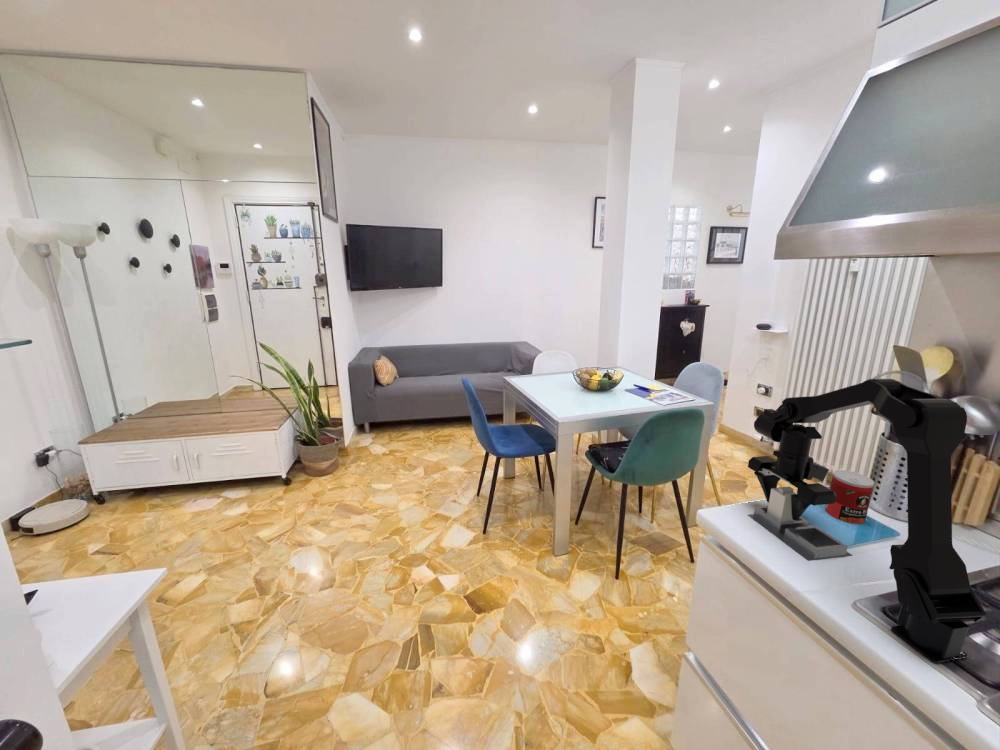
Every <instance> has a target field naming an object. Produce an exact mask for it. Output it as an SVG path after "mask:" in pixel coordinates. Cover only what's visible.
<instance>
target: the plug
mask: <svg viewBox="0 0 1000 750" xmlns="http://www.w3.org/2000/svg"><path fill="white" fill-rule="evenodd" d="M794 491H795V490H794V488H792V486H780V487H777V488H772V489H771V493H770V499H769V503H767V504H768V505H767V506H768V509H767V513H768V514H769V515H771V516H772V517H774V518H775V519H777V520H778V521H779V522H790V521H796V520H793V519H792V512H791V495H793V494H797V492H794Z"/></svg>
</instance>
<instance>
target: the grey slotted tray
mask: <svg viewBox="0 0 1000 750" xmlns="http://www.w3.org/2000/svg"><path fill="white" fill-rule="evenodd" d="M767 509H768V505H761V506H754V511H753V514H750V513H749V514H747V517H749V518H751V520H753V521H754V522H755V523H757V524H759V525H760V526H761V527H763V528H764V529H765V530H766V531H767V532H769V533H770V534H772V535H773V536H774V537H776V538H777V539H778V540H780V541H781V542H782V543H784V544H785V545H786V546H788V547H789V548H790V549H791V550H793V551H794V552H796V554H798V555H800V556H801V557H802V558H804V559H805V560H807V562H812V561H818V560H828V559H829V560H830V559H836V558H844V557H845V558H847V557H853V554H852V553H850V552H848V551H847V550H848V546H847V545H846V544H844V543H842V542H841V541H839V540H838V539H837V538H835V537H834V536H831V535H830V534H828V533H827V532H826V531H824V530H823V529H821V528H820V527H818V526H816V525H809V524H810V521H809V520H807V519H806V518H804V517H802V515H801V516H800V517H799V519H798V520H796V521H790V522H779V521H778V520H777V519H775V518H774V517H772V516H771V515H769V514H768V513H767Z"/></svg>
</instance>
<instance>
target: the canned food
mask: <svg viewBox="0 0 1000 750" xmlns="http://www.w3.org/2000/svg"><path fill="white" fill-rule="evenodd" d="M874 487H875V482H874V480H873V479H871V478H870V477H868V476H866V475H863V474H861V473H858V472H854V471H850V470H845V469H844V470H841V469H840V470H839V469H838V470H835V471H833V473H832V478H831V482H830V485H829V489H831V490H833V491H834V492H835V494H836V499H835V504H825V511H826V513H827V514H828V515H829V516H831V517H833V518H835V519H837V520H840V521H842V522H844V523H849V524H854V525H861V524H864V523H865V522H866V519H867V515H868V511H869V506H870V504H871V500H872V495H873V492H874V491H873V490H874Z"/></svg>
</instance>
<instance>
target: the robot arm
mask: <svg viewBox="0 0 1000 750" xmlns="http://www.w3.org/2000/svg"><path fill="white" fill-rule="evenodd" d="M869 405H873V407H874V408H875V409H876V411H877V413H878V414H880V415H881V416H883V417H884V418H886V419H888V420H889V421H891V422H892V428H893V433H894V436H895V438H896V439H897V441H898V442H899V444H900V445H901V446H902V447H903V448H904V450H905V451H906V478H907V479H906V483H907V486H906V488H907V494H906V495H907V539H906V540H905V542H904V543H903V544H891V546H890V550H889V551H890V555H891V562H890V565H889V568H888V569H889V570H893V578H894V580H895V584H896V592H897V594H896V595H897V601H898V603H900V604H901V606H900V610H899V614H898V616H897V617H898V618H897V620H896V623H897V624H898V625H892V626H891V627H890V631H892V632H893V633H894V634H896V635H897V636H898V637H899V638H900V639H901V640H903V641H905V642H906V643H907V644H909V645H910V646H911V647H912V648H914V649H915V650H916V651H917V652H918V653H920V654H921V655H923V656H924V657H926V658H927V659H928V660H930V662H933V663H935V664H940V663H941V664H942V663H946V662H945V661H947V662H949V661H948V660H951V658H952V659H954V658H953V657H955V658H963V657H967V658H968V654H967V653H966V652H964V651H963V653H964V654H965V655H963V654H960V652H961V650H962V649H963V646H964V644H965V640H966V638H967V634H968V631H969V629H970V625H969V624H967V622H968V623H969V622H974V623H977V622H980V621H982V620H983V619H984V618H985V617H986V616H987V613H986V611H985V610H984V608H983V606H982V604H981V603H980V601H979V599H978V598H977V596H976V594H975V592H974V591H973V588H972V587H971V585H970V583H971V582H970V579H969V575H968V570H967V565H966V563H965V562H964V561H963V559H962V557H961V556H960V555H959V554H958V552H957V551H956V549H955V548H954V545H953V520H952V519H953V515H952V514H953V511H952V509H953V507H952V506H953V505H952V455H953V453H954V452H955V450H957V448H958V447H959V445H960V444H961V443H962V441H963V439H964V438H965V437H964V436H965V432H966V428H967V427H966V426H967V424H968V415H967V411H966V409H965V408H964V407H962V406H961V405H960V404H958V403H957V402H956V401H954V400H952V399H948V398H941V397H939V396H936V395H935V394H932V393H929V392H926V391H923V390H920V389H917V388H915V387H911V386H909V385H906V384H905V383H903V382H900V381H898V380H896V379H893V378H869V379H867V380H865V381H862V382H861V383H856V384H853V385H850V386H847V387H842V388H839V389H836V390H833V391H828V392H825V393H822V394H819V395H811V396H795V397H786V398H784V399H782V401H781V405H779V406H778V407H777V408H776V409H773V408H765V409H764V410H763V413H761V414H760V415H758V416H757V417H756V419H755V420H754V422H753V428H754V430H755V431H756V433H758V434H759V435H762V436H764V437H766V438H768V439H769V440H770V441H771V440H772V442H773V441H774V442H775V443H779V445H778V450H773V454H772V455H773V456H774V457H776V459H774V458H772V457H771V456H769V455H762V456H761V455H759V456H752V457H751V458H750V459H749V460H748V464H747V468H748V469H750V470H752V471H754V472H753V473H754V475H755V476H756V478H757V480H758V482H759V484H760V487H761V489H762V491H763V494H764V496H765V499H766V502H767V504H769V499H770V493H771V489H772V488H778V484H779V482H780V481H781V480H783V481H785V482H787V483H788V484H790V485H792V486H793V487H795V488H797V490H796V494H793V495H791V512H792V519H793V520H798V519H799V517H800V516H801V517H802V515H803V514H804V513H805V511H806V510H807V509H808V508H809V507H810V506H821V505H822V506H823V505H826V504H835V499H836V494H835V492H834V491H833V490H831V489H830V487H827V486H825V485H823V484H821V483H820V482H824V481H825V479H826V476H827V475H828V473H829V472H830V468H827V467H825V466H823V465H821V464H819V463H818V462H815V461H814V458H813V457H811V456H810V451H811V448H812V443H813V440H821V439H822V438H823V436H822V435H821V433H820V432H819V431H818V430H817V429H816V426H805V425H802V424H817V423H820V422H822V421H825V420H826V419H829V418H830V417H831V415H833V414H835V413H839V412H843V411H847V410H851V409H857V408H861V407H864V406H869ZM813 478H815V479H816V480H817V479H818V480H819V481H820V482H817V483H807V482H805V481H804V480H807V481H810V480H811V481H812V479H813Z"/></svg>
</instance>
